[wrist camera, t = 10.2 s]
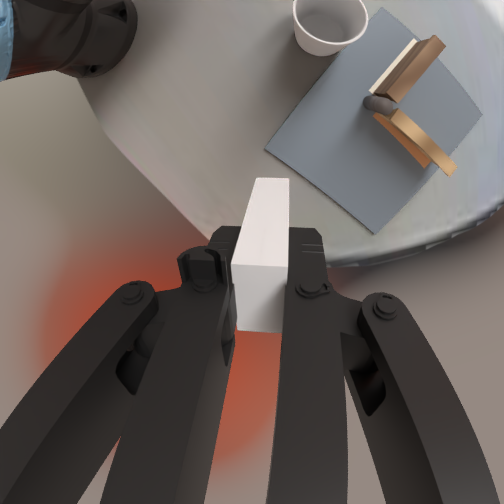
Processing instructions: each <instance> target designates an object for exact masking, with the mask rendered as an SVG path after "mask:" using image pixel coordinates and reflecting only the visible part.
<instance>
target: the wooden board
mask: <svg viewBox="0 0 504 504" xmlns="http://www.w3.org/2000/svg"><path fill="white" fill-rule="evenodd" d="M378 114H379V115H380V116H381V117H383V118H384V119H385V120H386V121H387V122H389V123H390V124H391V125H392V126H393V127H395V128H396V129H397V130H398V131H399V132H400V133H401V134H403V135H404V136H405V137H406V138H407V139H408V140H409V141H410V142H411V143H413V144H414V145H415V146H416V147H417V148H418V149H419V150H420V151H421V152H422V153H423V154H424V155H425V156H426V157H427V158H428V159H429V160H430V161H431V162H433V163H434V164H436V165H437V166H438V167H440V168H441V169H442V170H443V172H444V173H445V174H446V175H447V176H449V177H450V176H451V175H452V174H453V172H454V171H455V170H456V168H457V166H456V165H455V164H454V162H453V161H452V160H451V159H450V158H449V157H448V156H447V155H446V154H445V153H444V151H443V150H442V149H441V148H440V147H439V146H438V145H437V144H436V143H435V142H434V141H433V140H432V139H431V138H430V137H429V136H428V135H427V134H426V133H425V132H424V131H423V130H422V129H421V128H420V127H419V126H418V125H417V124H415V123H414V122H413V121H412V120H411V119H410V118H409V117H408V116H407V115H406V114H404V113H403V112H402V111H401V110H400V109H399V108H396V109H395V110H394V109H393V111H392V112H391V113H390V114H389V115H383V114H380V113H378Z"/></svg>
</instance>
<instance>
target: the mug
mask: <svg viewBox="0 0 504 504" xmlns="http://www.w3.org/2000/svg"><path fill="white" fill-rule="evenodd" d="M293 1H294V2H293V8H292V10H293V22H294V31H295V37H296V40H297V42H298V44H299V45H300V47H301V48H302V49H303V50H305V51H306V52H308V53H310V54H312V55H315V56H329V55H332V54H334V53H336V52H338V51H340V50H341V49H343V48H344V47H346V46H348V45H349V44H351V43H353V42H354V41H356V40H358V39H359V38H360V37H361V36H362V35H363V34H364V32H365V31H366V28H367V25H368V14H367V10H366V8H365V6H364V4H363V3H362V1H361V0H293Z"/></svg>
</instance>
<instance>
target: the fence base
mask: <svg viewBox="0 0 504 504" xmlns="http://www.w3.org/2000/svg"><path fill="white" fill-rule="evenodd" d="M445 47H446V46H445V45H444V43H443V42H442V41H441V40H440V39H439V38H438V37H437V36H436V35H433V36H432V37H431V38H430V39H426V40H422V41H419V42H416V43H415V44H414V45H413V47H412V48H411V49H410V50H409V51H408V52H407V54H406V55H405V56H404V57H403V58H402V59H401V61H400V62H399V63H398V64H397V65H396V66H395V67H394V69H393V70H392V71H391V72H390V73H389V74H388V76H387V77H386V78H385V79H384V80H383V81H382V83H381V84H380V85H379V86H378V87H377V89H376V90H375V91H374V92H373V93H374V94H375V95H376V96H366V97H365V98H364V99H363V105H364V107H365V108H366V109H368V110H371V111H374V112H377V113H380V114H383V115H389V114H390V113H391V112H392V111H393V104H392V102H391V101H394V102H395V103H399V102H400V100H401V99H402V98H403V97H404V96H405V95H406V93H407V92H408V91H409V90H410V89H411V88H412V86H413V85H414V84H415V83H416V82H417V80H418V79H419V78H420V77H421V76H422V74H423V73H424V72H425V71H426V70H427V69H428V67H429V66H430V65H431V64H432V63H433V61H434V60H435V59H436V58H437V57H438V55H439V54H440V53H441V52H442V51H443V49H444V48H445Z"/></svg>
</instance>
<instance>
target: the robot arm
mask: <svg viewBox="0 0 504 504" xmlns="http://www.w3.org/2000/svg"><path fill="white" fill-rule="evenodd" d="M136 28H137V12H136V8H135V6H134V4H133V3H132V1H131V0H0V82H1V81H3V80H7V79H11V78H15V77H20V76H24V75H29V74H34V73H40V72H46V71H52V70H56V71H59V72H61V73H64V74H67V75H69V76H72V77H76V78H87V77H95V76H98V75H101V74H103V73H105V72H107V71H109V70H110V69H111V68H113V67H114V66H115V65H116V64H117V63H118V62H119V61H120V60H121V59H122V58H123V57H124V55H125V54H126V52H127V51H128V49H129V47H130V46H131V44H132V41H133V39H134V36H135V33H136ZM177 262H178V266H179V270H180V275H181V279H182V284H181V287H179V288H176V289H171V290H165V291H159V292H155V291H154V289H153V287H152V285H151V284H149V283H148V282H146V281H132V282H129V283H127V284H124V285H122V286H121V287H120V288H118V289H117V290H116V291H115V292H114V293H113V294H112V295H111V296H110V297H109V298H108V299H107V300H106V301H105V303H104V304H103V305H102V306H101V307H100V308H99V309H98V310H97V311H96V312H95V313H94V314H93V315H92V316H91V318H90V319H89V320H88V321H87V322H86V323H85V324H84V325H83V326H82V327H81V329H80V330H79V331H78V332H77V333H76V334H75V335H74V336H73V338H72V339H71V340H70V341H69V342H68V343H67V344H66V346H65V347H64V348H63V349H62V350H61V352H60V353H59V354H58V355H57V356H56V357H55V358H54V360H53V361H52V362H51V363H50V365H49V366H48V367H47V368H46V369H45V371H44V372H43V373H42V374H41V375H40V377H39V378H38V379H37V380H36V382H35V383H34V384H33V386H32V387H31V388H30V389H29V391H28V392H27V393H26V395H25V396H24V397H23V399H22V400H21V401H20V402H19V404H18V405H17V406H16V408H15V409H14V411H13V412H12V413H11V415H10V416H9V417H8V419H7V420H6V422H5V423H4V425H3V426H2V427H1V429H0V504H77V503H78V501H79V500H80V498H81V496H82V495H83V493H84V492H85V490H86V489H87V487H88V485H89V484H90V482H91V481H92V479H93V478H94V476H95V475H96V473H97V472H98V470H99V468H100V467H101V465H102V464H103V462H104V461H105V459H106V458H107V456H108V455H109V453H110V452H111V450H112V448H113V447H114V445H115V444H116V442H117V441H118V439H119V438H120V436H121V438H120V441H119V444H118V446H117V450H116V452H115V456H114V459H113V462H112V465H111V468H110V471H109V474H108V478H107V481H106V484H105V487H104V491H103V494H102V498H101V501H100V504H204V500H205V495H206V490H207V484H208V479H209V475H210V470H211V464H212V459H213V454H214V449H215V444H216V438H217V434H218V428H219V424H220V419H221V413H222V409H223V403H224V398H225V393H226V388H227V383H228V377H229V373H230V368H231V362H232V357H233V352H234V347H235V335H234V331H235V326H236V322H237V330H242V331H256V332H271V333H282V343H281V355H280V370H279V383H278V395H277V407H276V417H275V428H274V437H273V447H272V456H271V466H270V474H269V482H268V490H267V498H266V504H347V487H348V449H347V448H348V447H347V446H348V445H347V417H346V416H347V415H346V397H345V383H344V376H345V379H346V382H347V384H348V387H349V390H350V393H351V396H352V398H353V401H354V404H355V407H356V410H357V412H358V416H359V419H360V422H361V424H362V427H363V430H364V433H365V436H366V439H367V442H368V446H369V448H370V452H371V455H372V458H373V461H374V464H375V468H376V471H377V474H378V477H379V480H380V484H381V487H382V491H383V494H384V498H385V501H386V504H500V502H499V499H498V495H497V492H496V488H495V485H494V482H493V479H492V476H491V473H490V470H489V468H488V465H487V463H486V459H485V457H484V454H483V452H482V449H481V447H480V444H479V442H478V439H477V437H476V435H475V432H474V430H473V428H472V426H471V423H470V421H469V419H468V417H467V415H466V413H465V410H464V408H463V406H462V404H461V402H460V400H459V398H458V396H457V394H456V392H455V390H454V388H453V386H452V384H451V382H450V381H449V378H448V377H447V375H446V373H445V371H444V369H443V367H442V366H441V364H440V362H439V360H438V358H437V357H436V355H435V353H434V351H433V350H432V348H431V346H430V345H429V343H428V341H427V339H426V338H425V336H424V335H423V333H422V331H421V330H420V328H419V327H418V325H417V323H416V321H415V320H414V319H413V317H412V315H411V314H410V312H409V311H408V309H407V307H406V306H405V305H404V303H403V302H402V301H401V300H400V299H398V298H397V297H395V296H393V295H391V294H387V293H373V294H370V295H368V296H367V297H366V298H365V299H364V300H363V302H360V301H357V300H353V299H350V298H347V297H344V296H342V295H340V294H339V293H337V292H336V291H335V290H334V289H333V286H332V284H331V283H330V282H329V281H328V276H327V269H326V262H325V255H324V249H323V243H322V237H321V235H320V234H319V233H318V231H317V230H316V229H315V228H297V227H289V178H256V181H255V184H254V188H253V191H252V194H251V197H250V201H249V204H248V207H247V211H246V214H245V217H244V221H243V224H242V226H221V227H220V228H219V229H217V230H216V231H215V232H214V233H213V235H212V237H211V239H210V242H209V244H208V246H198V247H194V248H191V249H188V250H186V251H185V252H183V253H181V255H180V256H179V257H178V258H177Z"/></svg>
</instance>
